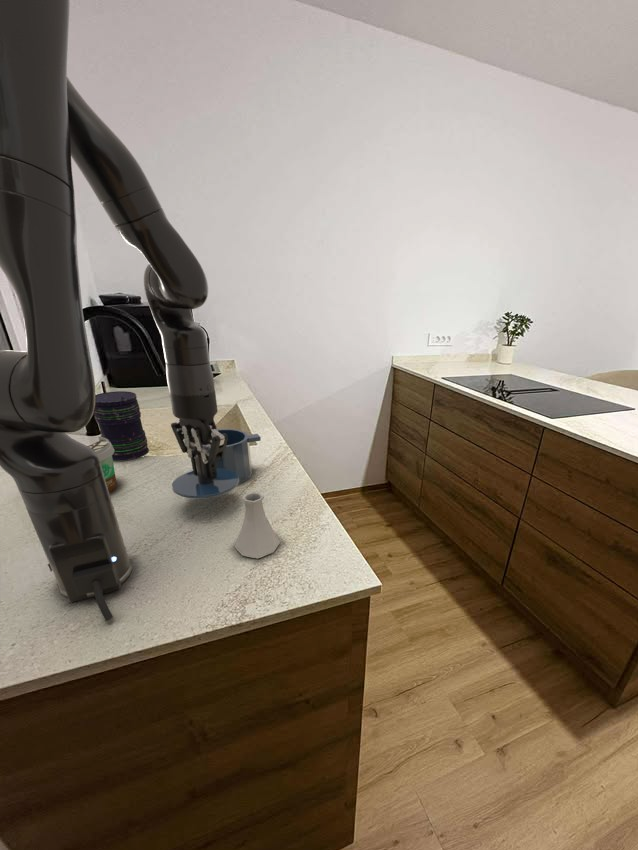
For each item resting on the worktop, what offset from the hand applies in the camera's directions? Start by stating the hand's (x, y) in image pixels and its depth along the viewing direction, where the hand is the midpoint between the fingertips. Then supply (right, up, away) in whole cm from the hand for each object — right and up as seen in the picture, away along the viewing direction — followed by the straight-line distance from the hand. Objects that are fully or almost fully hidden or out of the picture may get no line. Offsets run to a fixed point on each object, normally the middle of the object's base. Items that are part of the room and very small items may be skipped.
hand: (205, 476), depth 76 cm
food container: (-24, -3, +7) cm, 26 cm away
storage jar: (-30, +6, +24) cm, 39 cm away
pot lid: (0, -1, +1) cm, 2 cm away
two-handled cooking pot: (-1, 0, +15) cm, 16 cm away
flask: (+12, -13, -8) cm, 19 cm away
